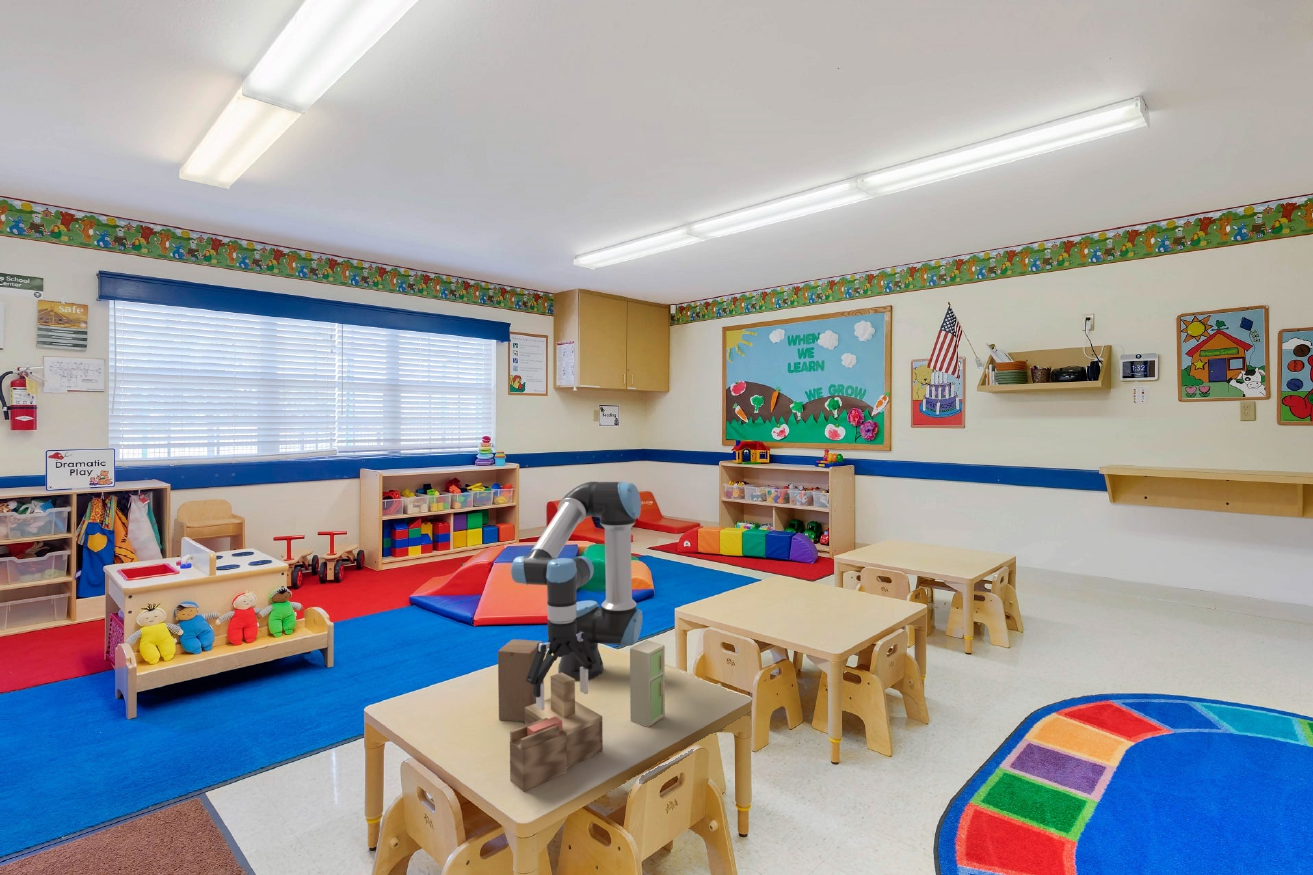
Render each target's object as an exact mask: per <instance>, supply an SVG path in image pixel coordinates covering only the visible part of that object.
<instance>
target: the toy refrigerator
mask: <svg viewBox="0 0 1313 875" xmlns="http://www.w3.org/2000/svg"><path fill="white" fill-rule="evenodd" d="M665 652H666V651H665V645H664V644H662V643H658V642H656V641H655V642H654V641H651V640H644V641H642V642H639V643H637V644H636V645H633V646H631V647H630V649H629V667H630V668H629V678H630V679H629V680H630V682H629V683H630V686H629V688H630V690H629V691H630V692H629V693H630V694H629V697H630V702H629V703H630V704H629V706H630V714H629V715H630V721H631V722H632V723H636V724H639V725H641V726H643V727H644V726H645V727H647V728H650V726H651V727H652V725H654V724H655V723H657V722H659V721H661V719H663V718H665V717H666V713H665V712H666V709H665V708H666V706H665V705H666V704H665V703H666V702H665V701H666V698H665V697H666V696H665V690H666V688H665V687H666V686H665V682H666V681H665V680H666V679H665V677H666V676H665V675H666V674H665V673H666V672H665V670H666V669H665V666H666V665H665V663H666V662H665V661H666V660H665V658H666V657H665Z"/></svg>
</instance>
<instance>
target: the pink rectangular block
mask: <svg viewBox="0 0 1313 875" xmlns="http://www.w3.org/2000/svg"><path fill="white" fill-rule="evenodd" d="M555 725H559V732H561V731H562V720H561V719H559V718H557V717H556V716H555V717H552V718H550V719H547V720H545V721H542V722H539V723H537V724H534V725H531V726H529V727H527V736H529V735H532V734H534V733H537V732H540V731H542V730H545V729H547V728H550V727H552V726H555Z"/></svg>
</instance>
